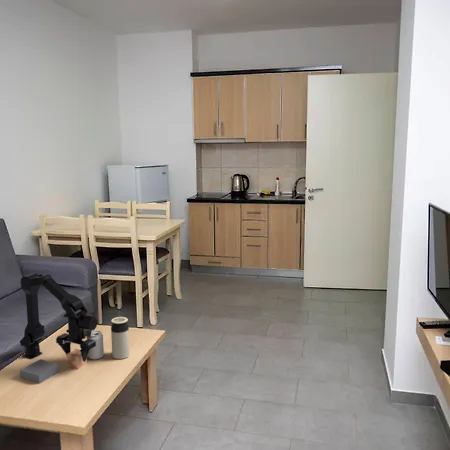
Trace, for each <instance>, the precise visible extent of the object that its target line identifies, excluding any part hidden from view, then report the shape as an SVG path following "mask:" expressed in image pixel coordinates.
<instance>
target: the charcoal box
mask: <svg viewBox="0 0 450 450" xmlns="http://www.w3.org/2000/svg"><path fill="white" fill-rule="evenodd" d="M59 365H60V364H59V363H56V362H51V361H48V360H44V359H42V358H41V359H38V360H36V361H34V362H31V364H29V365H27V366H25V367H22V368H21V369H20V370H19V374H20V377H19V378H21V379H23V380H26V381H30V382H33V383H36V384H39V385H40V384H41V383H43V382H45V381H47V380H48V379H49V378H51V377H53V376H55V375H56V374H58V373H60V366H59Z"/></svg>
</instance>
